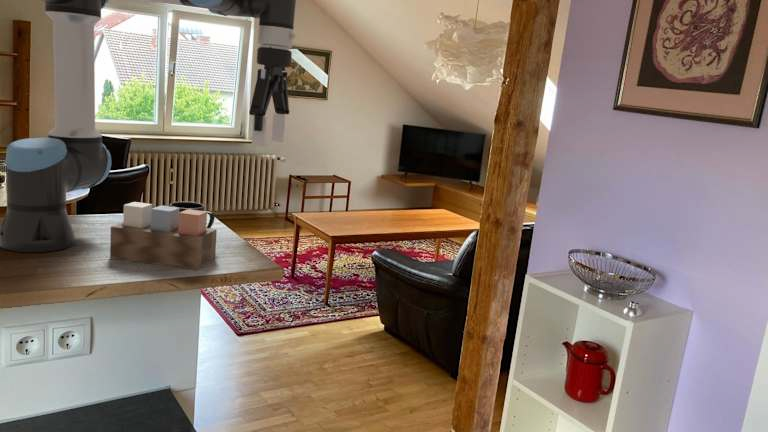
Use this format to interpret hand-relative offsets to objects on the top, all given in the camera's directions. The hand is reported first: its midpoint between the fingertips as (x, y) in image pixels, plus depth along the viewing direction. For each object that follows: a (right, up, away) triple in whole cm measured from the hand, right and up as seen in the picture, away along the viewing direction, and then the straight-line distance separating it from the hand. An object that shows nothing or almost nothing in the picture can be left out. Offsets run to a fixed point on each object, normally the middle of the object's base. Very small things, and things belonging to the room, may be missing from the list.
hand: (268, 143), depth 144 cm
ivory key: (-29, -21, -1) cm, 36 cm away
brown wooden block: (-23, -26, -1) cm, 35 cm away
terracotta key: (-16, -22, -3) cm, 28 cm away
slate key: (-23, -22, -2) cm, 31 cm away
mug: (-21, -23, +12) cm, 34 cm away
